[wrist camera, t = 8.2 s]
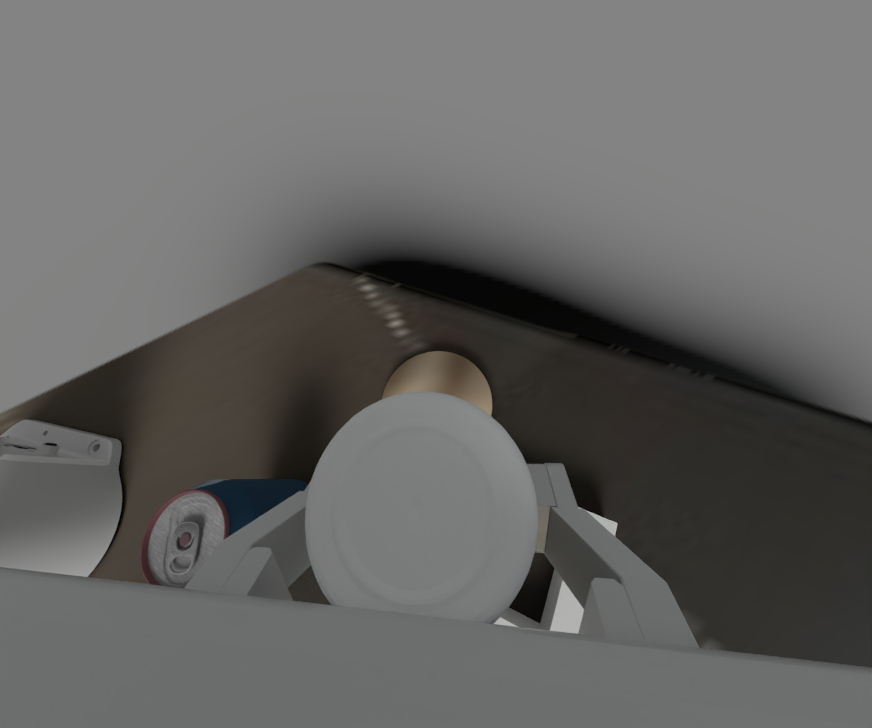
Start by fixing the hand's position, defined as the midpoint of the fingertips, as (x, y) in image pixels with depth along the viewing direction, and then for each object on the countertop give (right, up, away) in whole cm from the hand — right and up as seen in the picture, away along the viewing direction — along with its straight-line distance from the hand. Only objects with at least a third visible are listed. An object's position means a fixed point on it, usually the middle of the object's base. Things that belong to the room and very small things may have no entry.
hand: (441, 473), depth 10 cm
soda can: (-14, -11, +20) cm, 27 cm away
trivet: (0, -1, +22) cm, 22 cm away
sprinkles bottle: (+1, -4, +8) cm, 9 cm away
